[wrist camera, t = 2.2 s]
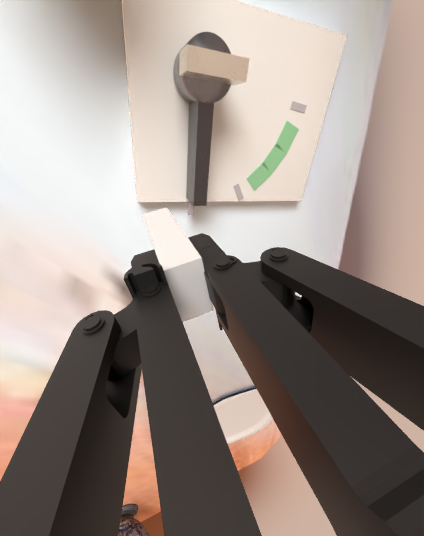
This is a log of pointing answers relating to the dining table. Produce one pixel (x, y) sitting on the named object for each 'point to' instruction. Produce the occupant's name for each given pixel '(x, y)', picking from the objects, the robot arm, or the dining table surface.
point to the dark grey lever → (204, 100)
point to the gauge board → (228, 99)
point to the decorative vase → (131, 522)
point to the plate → (242, 415)
